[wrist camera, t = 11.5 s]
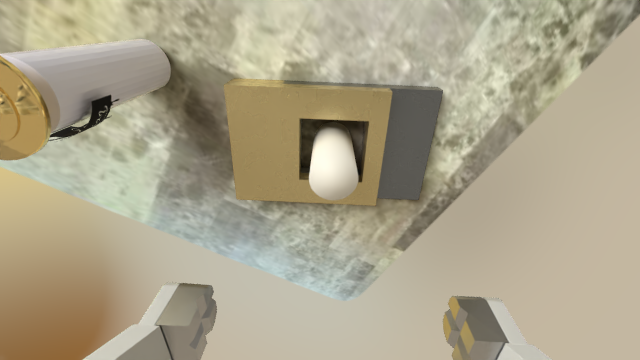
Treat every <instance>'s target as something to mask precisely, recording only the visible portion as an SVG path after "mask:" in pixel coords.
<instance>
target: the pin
mask: <svg viewBox="0 0 640 360" xmlns="http://www.w3.org/2000/svg"><path fill="white" fill-rule="evenodd" d="M309 183H310V186H311V188H312V190H313V191H314V192H315V193H316V194H317V195H318V196H320V197H321V198H324V199H327V200H340V199H343V198H345V197H347V196H349V195H350V194H351V193H352V192H353V191H354V190H355V188H356V186H357V184H358V172H357V167H356V161H355V156H354V150H353V144H352V139H351V134H350V132H349V130H348V129H347V128H346V127H345V126H344V125H343V124H341V123H338V122H328V123H325V124H323V125H322V126H320V127H319V128H318V129H317V131H316V133H315V136H314V143H313V150H312V158H311V166H310V173H309Z"/></svg>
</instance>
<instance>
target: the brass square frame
mask: <svg viewBox="0 0 640 360" xmlns="http://www.w3.org/2000/svg"><path fill="white" fill-rule="evenodd" d="M224 91H225V100H226V109H227V118H228V127H229V136H230V144H231V153H232V162H233V171H234V180H235V189H236V198H237V199H240V200H262V201H284V202H305V203H327V204H349V205H371V206H376V201H377V198H386V199H408V200H419V196H420V191H421V187H422V182H423V178H424V173H425V169H426V164H427V160H428V156H429V151H430V147H431V142H432V138H433V133H434V129H435V125H436V120H437V116H438V111H439V107H440V102H441V98H442V94H443V90H441V89H440V88H438V87H422V86H399V85H376V84H352V83H329V82H306V81H282V80H259V79H236V78H234V79H232V80H231V81H229V82H227V83H226V84H224ZM302 118H305V119H328V120H351V121H365V122H364V132H363V141H362V150H361V159H360V168H359V169H357V172H358V184H357V186H356V188H355V190H354V191H353V192H352V193H351V194H350V195H349V196H347V197H345V198H343V199H340V200H327V199H324V198H321V197H320V196H318V195H317V194H316V193H315V192H314V191H313V190H312V188H311V186H310V183H309V173H310V167H306V166H302Z"/></svg>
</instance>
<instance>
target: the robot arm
mask: <svg viewBox="0 0 640 360" xmlns="http://www.w3.org/2000/svg"><path fill="white" fill-rule="evenodd" d="M213 292H214V291H213V288H212V286H211V285H201V284H187V283H171V282H167V283H166V284H164V285H163V286H162V288H161V289H160V291H159V293H158V294H157V296H156V297H155V299H154V300H153V302H152V303H151V305H150V307H149V308H148V310H147V311H146V313H145V314H144V316H143V318H142V319H141V321H140V322H139V324H138V325H132V326H131V327H129V328H128V329H126V330H125V331H123V332H122V333H120V334H119V335H118V336H116V337H115V338H113V339H112V340H110V341H109V342H107V343H106V344H105V345H103V346H102V347H100V348H99V349H97V350H96V351H94V352H93V353H92V354H90V355H89V356H87V357H86V358H85V359H83V360H200V359H201V356H202V354H203V351H204V349H205V346H206V344H207V341H206V336H205V335H207V334H208V333H209V332H210V331H211V330H212V328H213V326H214V323H215V319H216V313H217V311H216V310H217V306H216V301H215V300H214V299H212V295H213ZM448 305H449V307H450V309H449V310H448V311H447V312H445V315H444V319H443V329H444V334H445V337H446V340H447V342H448V343H449V344H450V345H451V346H452V347H453V348H454V351H453V353H452V357H453V360H552V359H551V358H549V357H548V356H547V355H545V354H544V353H543V352H542V351H540V350H539V349H538V348H536V347H535V346H534V345H530V344H527V342H526V340H525V339H524V337H523V335H522V333H521V332H520V330H519V329H518V327H517V325H516V324H515V322H514V320H513V319H512V317H511V315H510V314H509V312H508V310H507V309H506V307H505V305H504V304H503V302H502V301H501V300H500V299H499V298H482V297H464V296H452V297H451V298H450V300H449V303H448Z"/></svg>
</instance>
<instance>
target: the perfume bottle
mask: <svg viewBox="0 0 640 360" xmlns="http://www.w3.org/2000/svg"><path fill="white" fill-rule="evenodd" d="M170 75H171V68H170V63H169V60H168V58H167V56H166V55H165V53H164V52H163V50H162V49H161V48H160V47H159V46H157V45H156V44H155V43H153V42H151V41H148V40H145V39H132V40H123V41H114V42H104V43H95V44H85V45H76V46H67V47H57V48H48V49H39V50H29V51H20V52H10V53H1V54H0V160H18V159H22V158H26V157H28V156H30V155H32V154H34V153H36V152H38V151H40V150H41V149H42V148H43V147H44V146H45V145H46V144H47V142H48V141H52V140H49V137H62V138H65V137H68V138H69V136H71V137H72V136H74V135H76V134H78V132H79V131H74V130H78V129H79V130H80V132H83V131H85V130H87V129H88V128H91V127H93V126H96V125H97V124H98V123H101V122H102V121H103V120H104V119H107V118H109V117H107V115H108V113H109V112H110V109H112V108H114V107H116V106H119V105H121V104H124V103H126V102H128V101H131V100H133V99H136V98H138V97H141V96H143V95H145V94H148V93H150V92H153V91H155V90H158V89H160V88H162V87H164V86H165V85H166V84H167V82H168V81H169V79H170ZM102 112H104V113H102ZM106 113H107V114H106ZM99 114H100V115H101V116H100V115H99ZM105 115H106V116H105ZM90 117H91V118H90ZM100 117H101V118H100ZM104 117H105V118H104ZM106 117H107V118H106ZM110 117H111V116H110ZM87 118H90V121H89V123H87V124H85V125H84V126H85V128H84V126H82V127H73V126H70V125H73V124H75V123H78V122H80V121H82V120H85V119H87ZM99 118H100V121H99V120H97V119H99ZM96 121H97V122H96ZM96 123H97V124H96ZM95 124H96V125H95ZM86 125H87V126H86ZM92 125H93V126H92ZM68 126H70V127H68ZM65 127H68V128H65ZM63 128H65V129H63ZM72 128H76V129H73V130H72ZM61 129H63V130H61ZM58 130H60V131H58ZM56 131H58V132H56ZM53 132H56V133H53ZM80 132H79V133H80ZM51 133H53V134H51ZM50 134H51V135H50ZM58 139H61V138H58ZM54 140H57V139H54ZM60 141H61V140H60Z"/></svg>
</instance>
